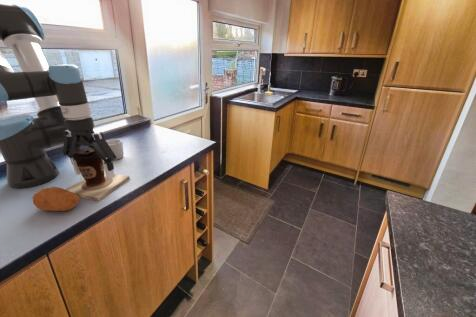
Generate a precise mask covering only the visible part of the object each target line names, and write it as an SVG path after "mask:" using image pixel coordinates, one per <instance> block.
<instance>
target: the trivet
mask: <svg viewBox="0 0 476 317" xmlns="http://www.w3.org/2000/svg"><path fill="white" fill-rule="evenodd" d="M114 175H115V177H113V178H112V179H110V180H107V177H106V173H105V171H104V177H105V179H106V182H105V183H104V184H102V185H99V186H94V187H89V186H87V185H86V181H85V179H84V178H82V179H81V180H79V181H77V182H75V183H74V184H72V185H71V186H68V187H67V188H65V190H67V191H70V192H73V193H75V194H77V195H78V196H79V198H82V199H87V200H93V201H97V202H99V201H101V200H102V199H104V198H105V197H107V196H108V195H110V194H111V193H112V192H114V191H115V190H116V189H118V188H119V187H121V186H122V185H123V184H125V183H126V182H128V181H129V180H131V178H130V177H131V176H129V175H124V174H119V173H114Z"/></svg>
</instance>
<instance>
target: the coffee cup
mask: <svg viewBox="0 0 476 317" xmlns="http://www.w3.org/2000/svg"><path fill="white" fill-rule="evenodd" d="M73 159H74V160H76V163H77V166H78V168H79V170H80V172H81V173H80V175H81V176H82V179H85V181H86V185H87V186H89V187H94V186H99V185H102V184H104V183H105V182H106V179H105V177H104V172H105V170H104V166H103V162H104V161H103V160H102V159H101V158H100V156H99V155H98V154H97V153H96V152H95V151H94V150H93V149H92V148H89V147H88V146H87V147H81V148H79V149H78V150H76V151H75V152H74V156H73Z"/></svg>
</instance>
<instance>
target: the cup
mask: <svg viewBox="0 0 476 317" xmlns="http://www.w3.org/2000/svg"><path fill="white" fill-rule="evenodd" d="M105 140H106V139H105ZM106 142H107V143H108V145H109V146H110V148H111V149H112V151H113V152H114V154H115V155H116V157H117V159H115V160H114V161H117V160H120V159H122V158H123V157H124V145H123V139H121V138H110V139H107V140H106Z"/></svg>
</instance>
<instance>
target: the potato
mask: <svg viewBox="0 0 476 317" xmlns="http://www.w3.org/2000/svg"><path fill="white" fill-rule="evenodd" d="M65 189H66V188H65ZM65 189H64V188H62V187H60V186H59V187H58V186H50V187H44V188H41V189H39V190H38V191H37V192H35V193H34V194H33V197H32V203H33V205H34V206H35V208H36V209H37V210H41V211H45V212H65V211H70V210H72V209H74V207H76V206H77V205H78V204H79V202H80V200H81V199H80V198H81V197H79V196H78V195H77V194H75V193H73V192H70V191H67V190H65Z"/></svg>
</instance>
